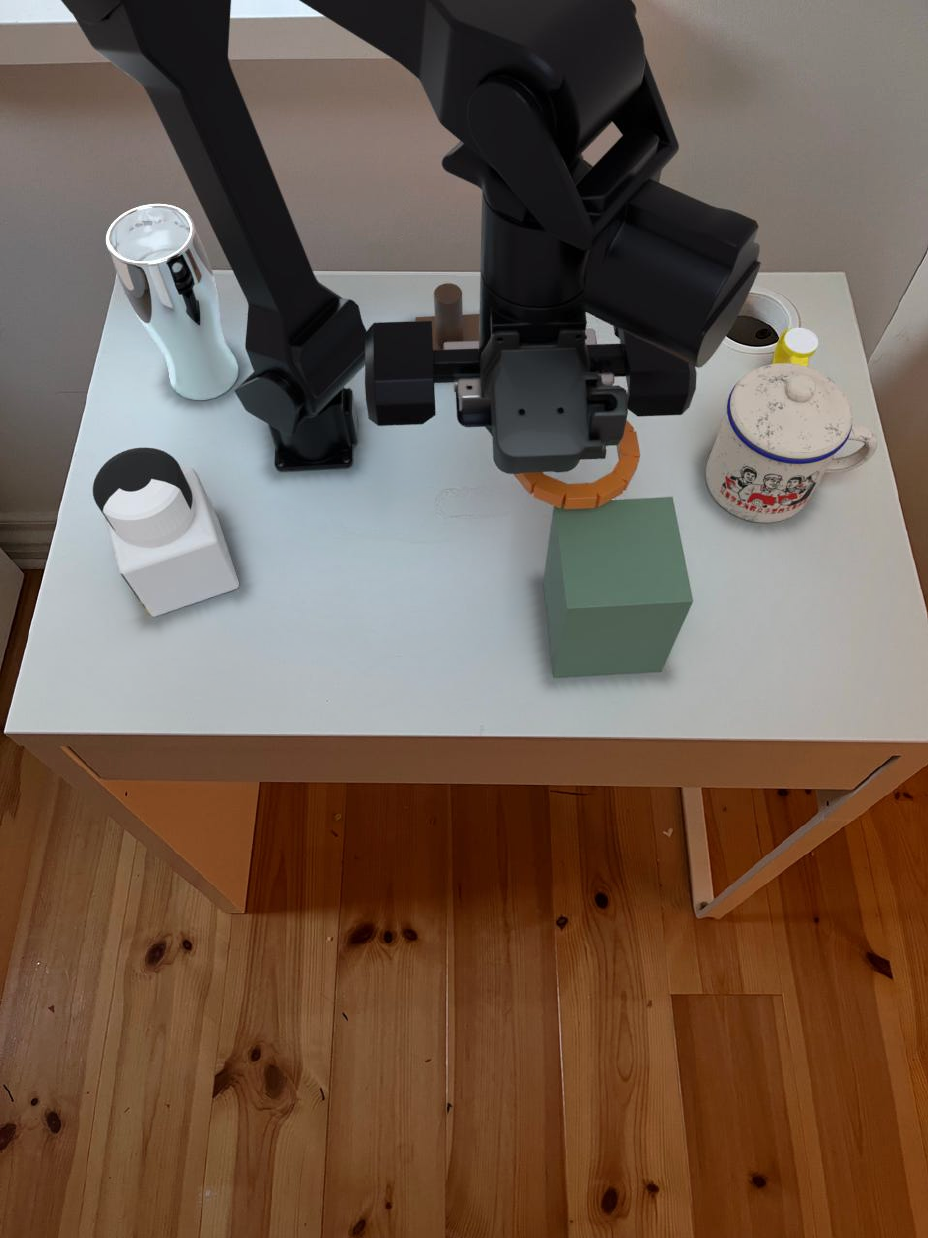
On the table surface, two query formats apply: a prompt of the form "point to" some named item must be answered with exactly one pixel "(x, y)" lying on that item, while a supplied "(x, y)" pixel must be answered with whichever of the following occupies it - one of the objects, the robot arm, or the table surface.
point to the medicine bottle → (163, 530)
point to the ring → (588, 492)
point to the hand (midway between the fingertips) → (519, 455)
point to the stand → (451, 318)
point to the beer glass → (174, 296)
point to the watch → (795, 346)
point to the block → (615, 587)
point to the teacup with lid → (781, 441)
